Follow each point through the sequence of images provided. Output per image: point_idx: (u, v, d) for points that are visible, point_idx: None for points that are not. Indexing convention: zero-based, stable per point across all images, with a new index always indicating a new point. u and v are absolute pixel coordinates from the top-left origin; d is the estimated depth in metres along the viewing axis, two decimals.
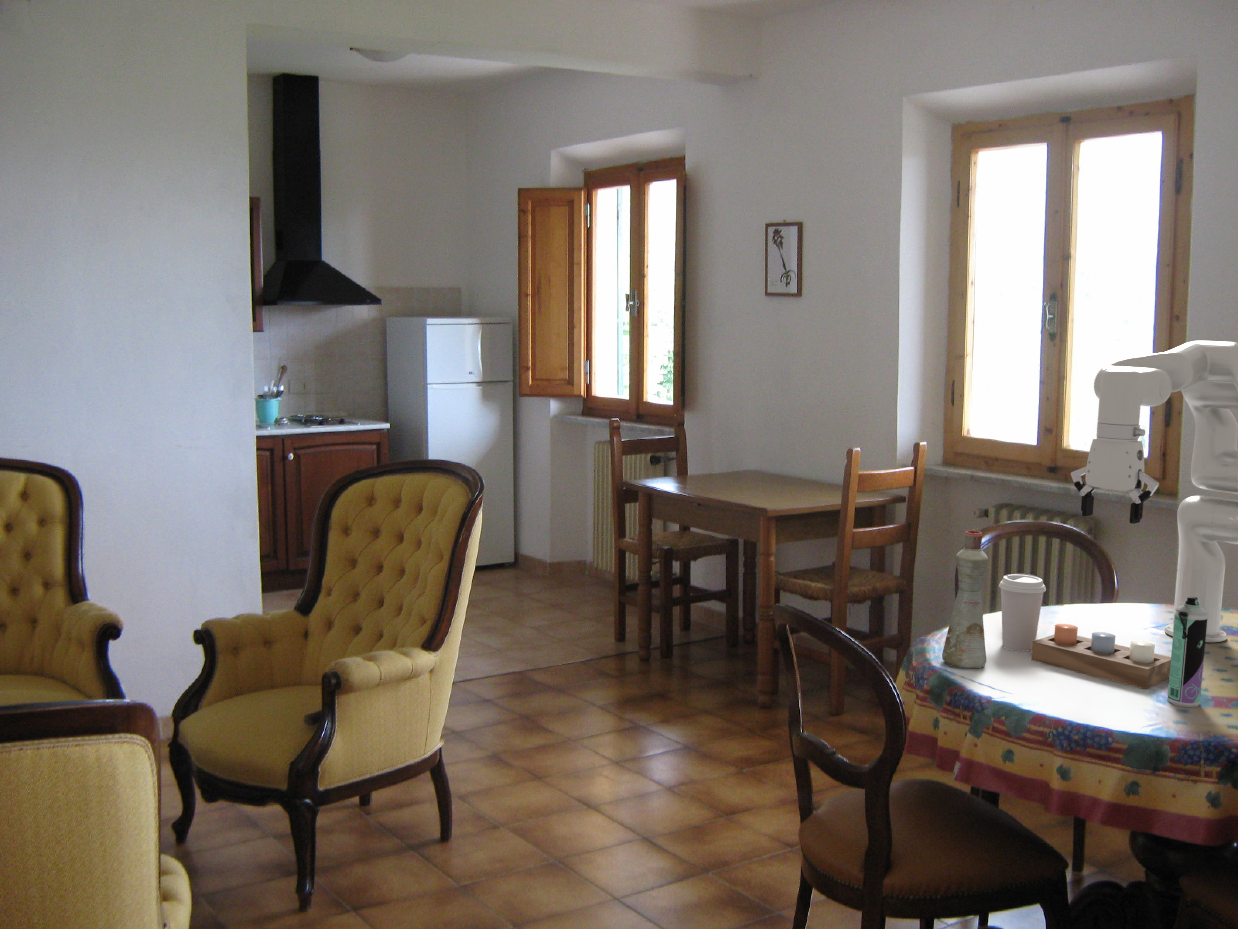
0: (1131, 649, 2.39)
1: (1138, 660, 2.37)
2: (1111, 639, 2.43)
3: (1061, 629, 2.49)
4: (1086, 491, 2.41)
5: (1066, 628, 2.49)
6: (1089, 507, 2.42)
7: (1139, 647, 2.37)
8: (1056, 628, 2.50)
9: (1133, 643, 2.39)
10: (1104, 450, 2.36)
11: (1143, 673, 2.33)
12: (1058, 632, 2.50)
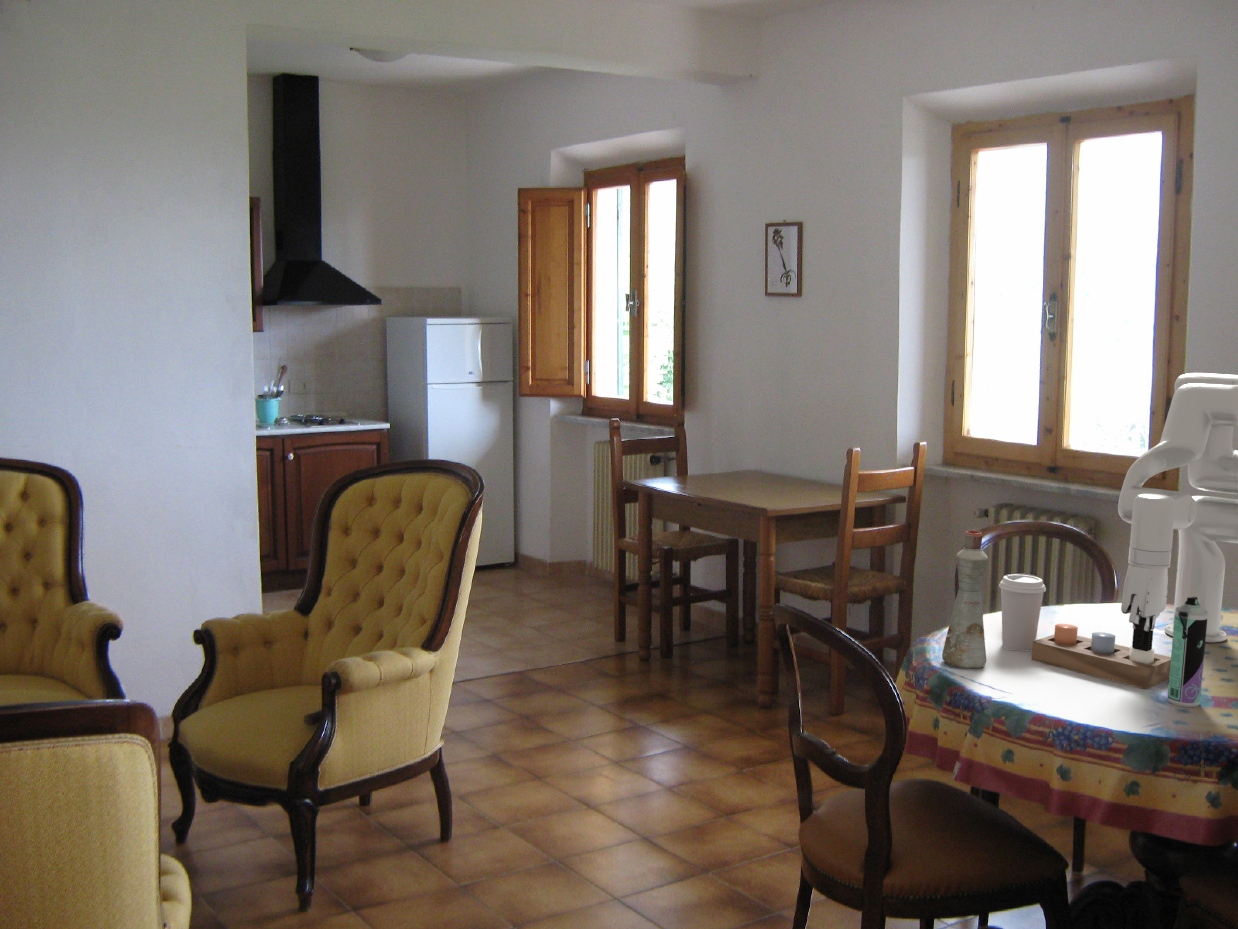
0: (1131, 654, 2.39)
1: None
2: (1111, 639, 2.43)
3: (1061, 629, 2.49)
4: (1148, 624, 2.36)
5: (1066, 628, 2.49)
6: None
7: (1139, 652, 2.37)
8: (1056, 628, 2.50)
9: (1133, 648, 2.39)
10: (1158, 577, 2.34)
11: (1143, 673, 2.33)
12: (1058, 632, 2.50)
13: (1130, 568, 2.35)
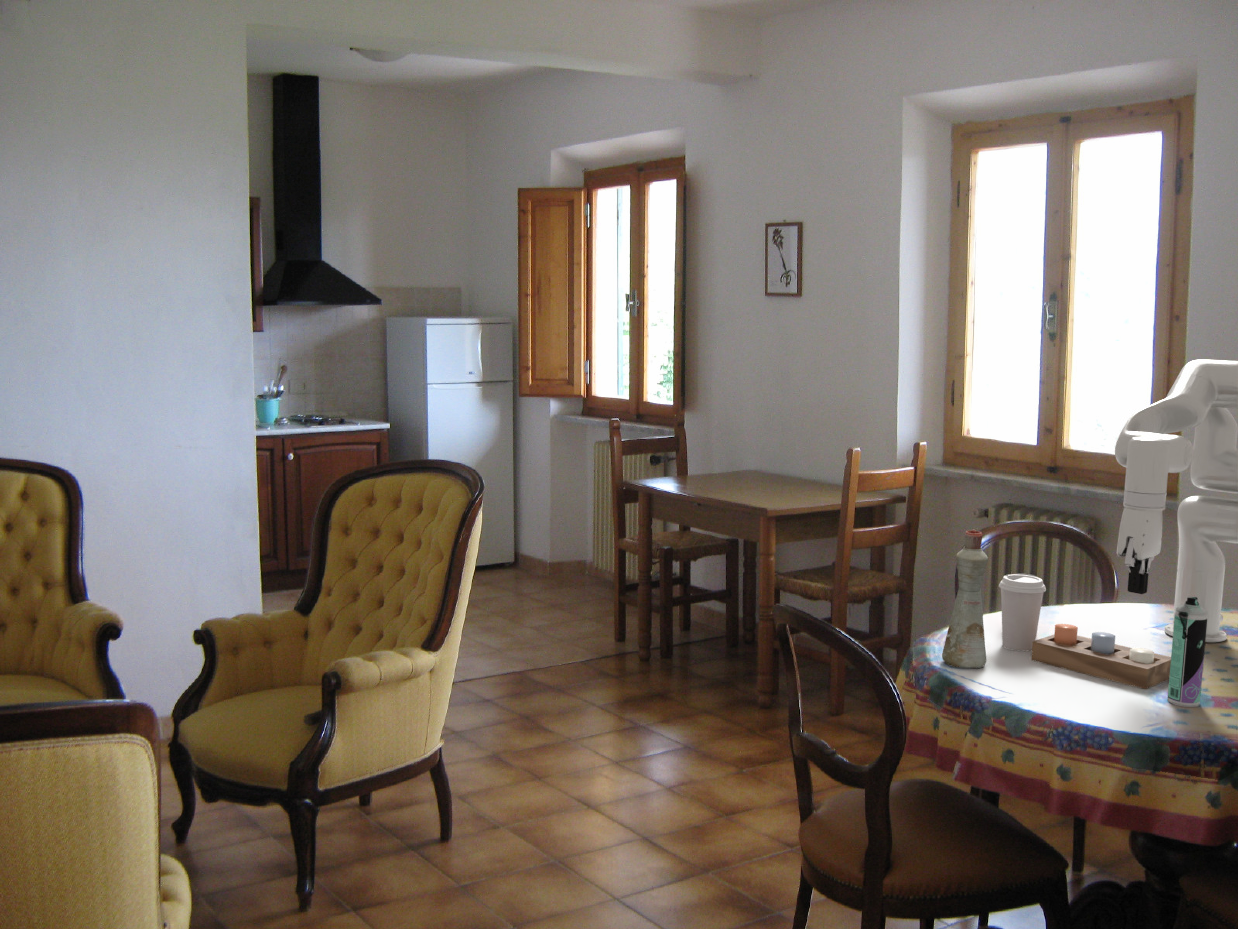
0: (1130, 656, 2.39)
1: None
2: (1111, 639, 2.43)
3: (1061, 629, 2.49)
4: (1144, 566, 2.36)
5: (1066, 628, 2.49)
6: None
7: (1138, 654, 2.37)
8: (1056, 628, 2.50)
9: (1132, 650, 2.39)
10: (1153, 520, 2.34)
11: (1143, 673, 2.33)
12: (1058, 632, 2.50)
13: (1125, 511, 2.35)
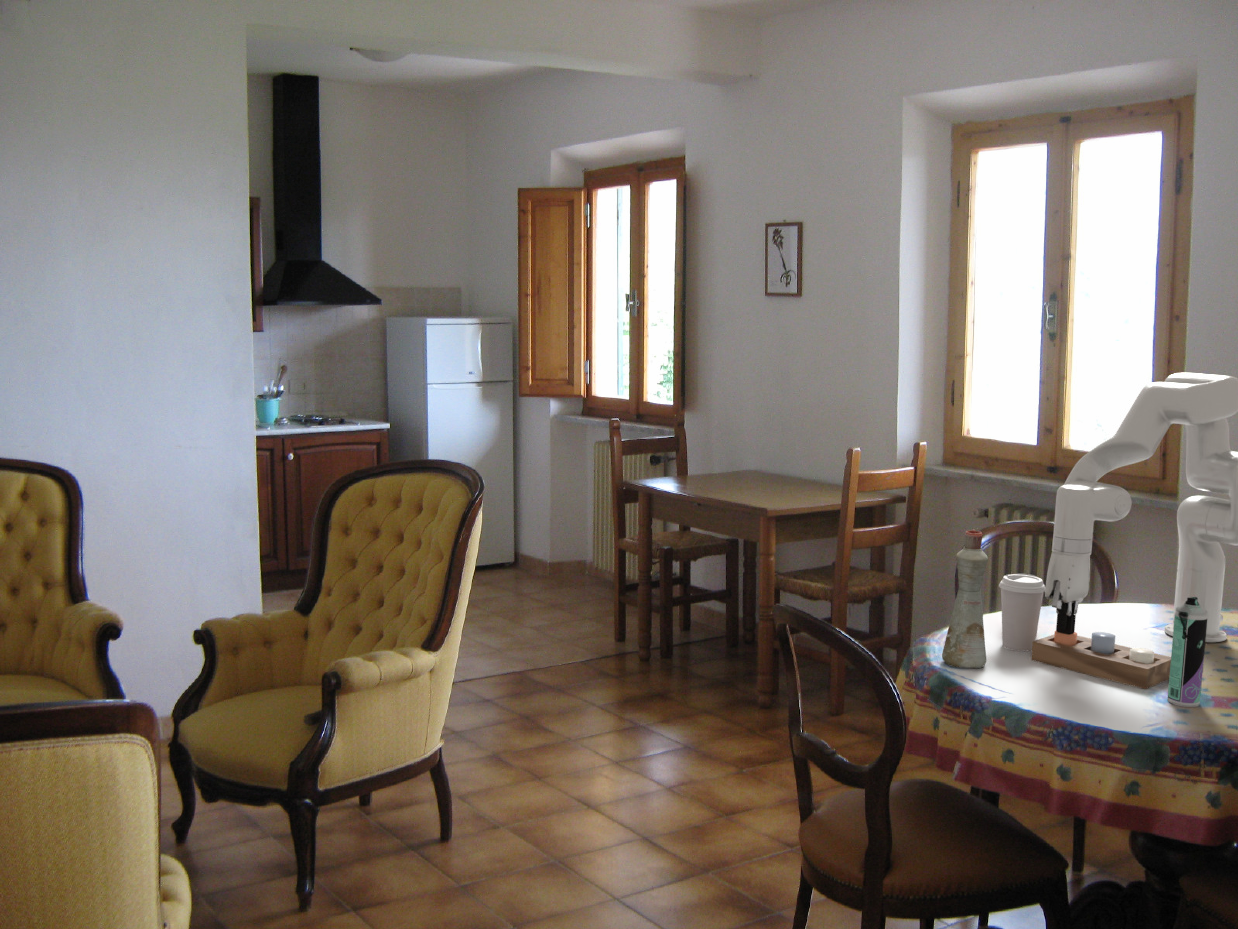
0: (1130, 656, 2.39)
1: None
2: (1111, 639, 2.43)
3: (1061, 635, 2.49)
4: (1070, 608, 2.48)
5: (1066, 634, 2.49)
6: None
7: (1138, 654, 2.37)
8: (1056, 634, 2.50)
9: (1132, 650, 2.39)
10: (1079, 564, 2.46)
11: (1143, 673, 2.33)
12: (1058, 638, 2.50)
13: (1053, 556, 2.47)
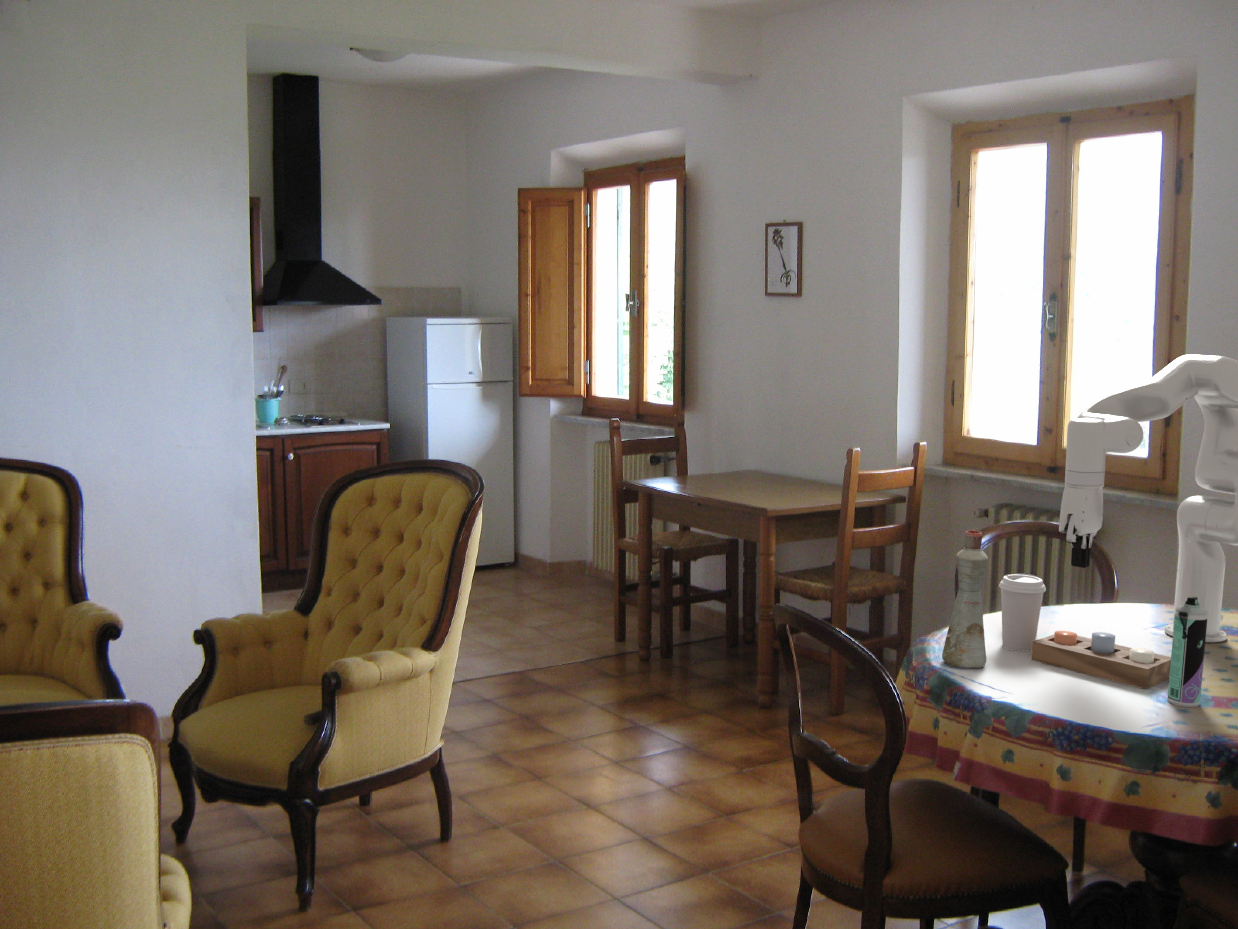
0: (1130, 656, 2.39)
1: None
2: (1111, 639, 2.43)
3: (1060, 636, 2.49)
4: (1085, 541, 2.49)
5: (1065, 635, 2.49)
6: None
7: (1138, 654, 2.37)
8: (1056, 635, 2.50)
9: (1132, 650, 2.39)
10: (1092, 497, 2.46)
11: (1143, 673, 2.33)
12: (1057, 639, 2.50)
13: (1066, 490, 2.47)
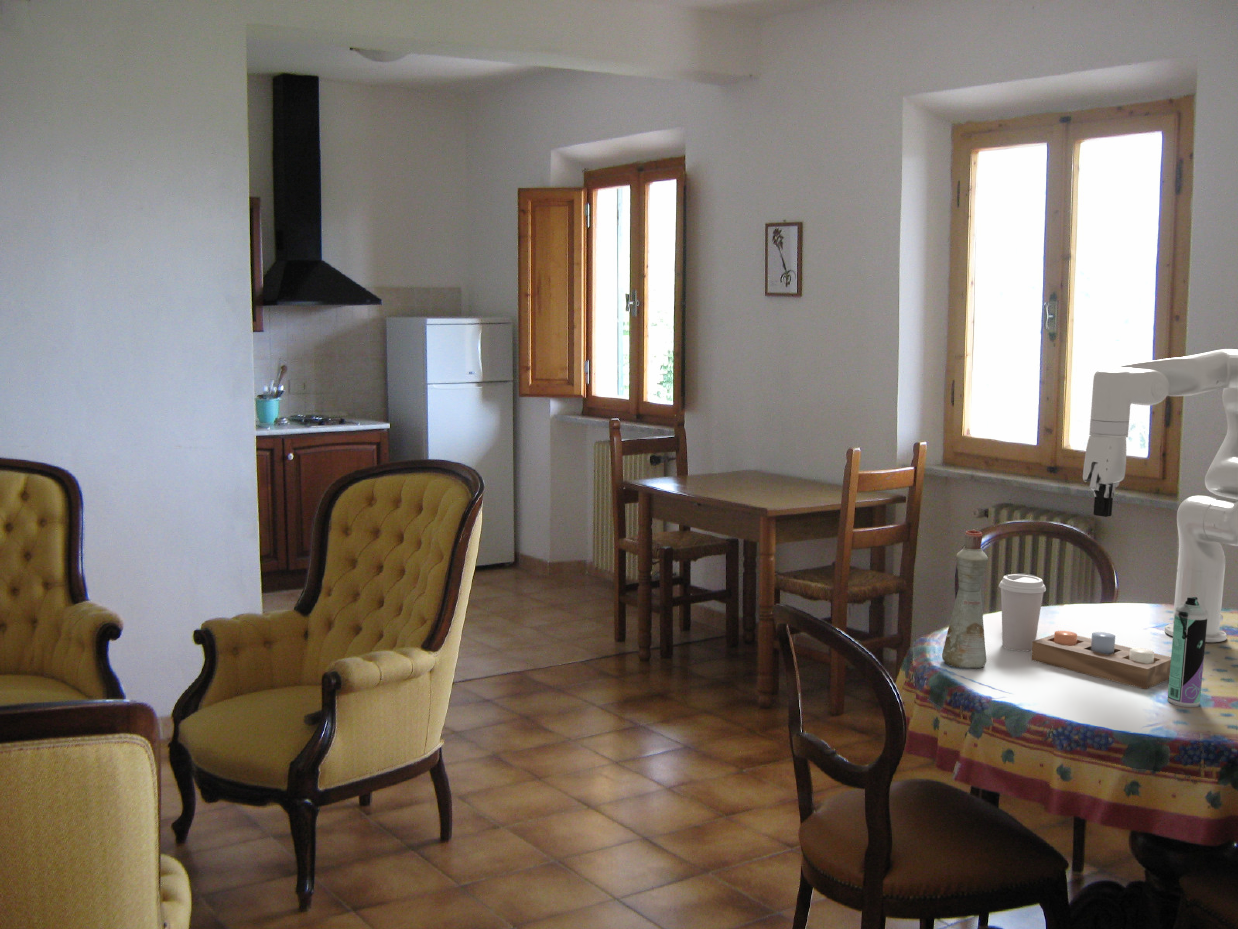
0: (1130, 656, 2.39)
1: None
2: (1111, 639, 2.43)
3: (1060, 636, 2.49)
4: (1108, 491, 2.53)
5: (1065, 635, 2.49)
6: None
7: (1138, 654, 2.37)
8: (1056, 635, 2.50)
9: (1132, 650, 2.39)
10: (1116, 447, 2.51)
11: (1143, 673, 2.33)
12: (1057, 639, 2.50)
13: (1091, 439, 2.52)
